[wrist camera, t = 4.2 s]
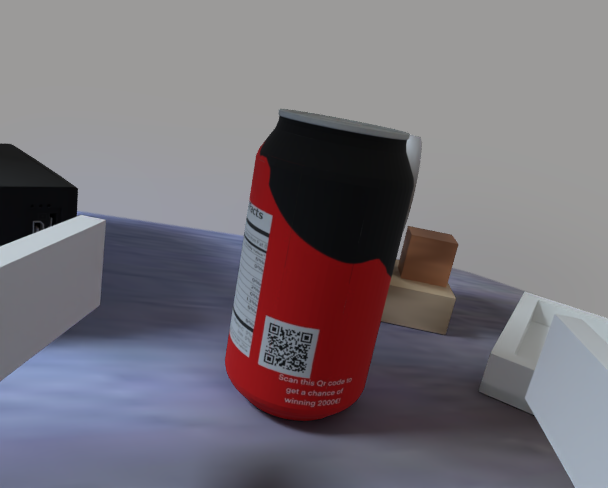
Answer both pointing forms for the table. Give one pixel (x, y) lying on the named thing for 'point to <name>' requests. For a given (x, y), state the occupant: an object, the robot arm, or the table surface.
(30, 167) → the digital camera
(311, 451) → the table surface
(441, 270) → the pulley stand
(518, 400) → the tray
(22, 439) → the table surface
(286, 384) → the beverage can
